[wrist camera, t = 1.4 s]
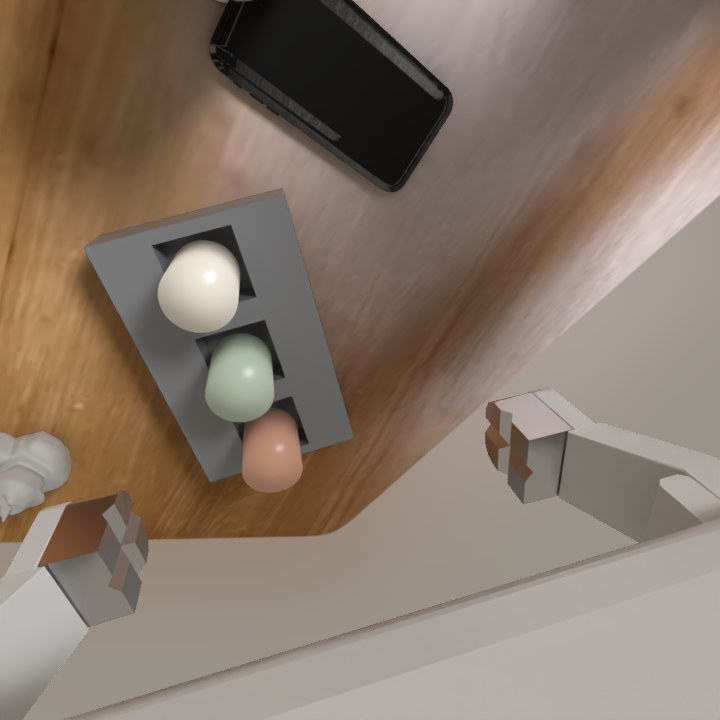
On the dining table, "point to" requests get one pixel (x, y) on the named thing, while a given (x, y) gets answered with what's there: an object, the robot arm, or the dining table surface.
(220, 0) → the coffee can
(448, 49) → the dining table surface
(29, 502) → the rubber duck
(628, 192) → the dining table surface
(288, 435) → the terracotta button
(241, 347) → the sage button
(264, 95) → the phone
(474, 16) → the dining table surface
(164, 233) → the grey rectangular tray
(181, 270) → the ivory button
